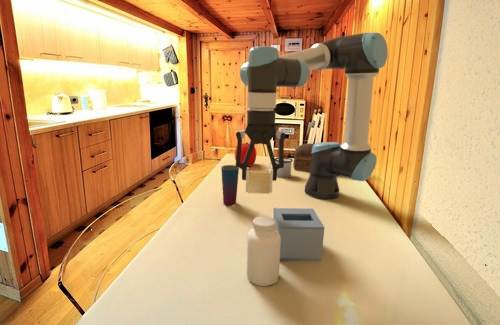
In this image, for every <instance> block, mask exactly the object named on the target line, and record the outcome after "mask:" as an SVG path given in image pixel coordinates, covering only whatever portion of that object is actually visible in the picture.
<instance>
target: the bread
mask: <svg viewBox="0 0 500 325" xmlns="http://www.w3.org/2000/svg"><path fill="white" fill-rule="evenodd" d="M314 144H315V143H303V144H301V145H299V146H297V147H296V148H295V149H294V152H293V156H294V157H293V158H294V159H293V163H292V164H293V169H294V170H295V171H304V172H310V168H311V156H312V154H311V153H312V148H313V145H314Z"/></svg>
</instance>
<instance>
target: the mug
mask: <svg viewBox="0 0 500 325" xmlns="http://www.w3.org/2000/svg"><path fill="white" fill-rule="evenodd" d="M274 158H275V161H276V164H277V163H279V158H278V157H274ZM292 162H294V159H292V158H290V157H285V156H284V167H283V168H279V169H278V170H277V178H281V179H284V178H285V179H286V178H291V174H292ZM269 165H272V164H271V162H270V163H269Z"/></svg>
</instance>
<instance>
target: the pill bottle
mask: <svg viewBox="0 0 500 325" xmlns="http://www.w3.org/2000/svg"><path fill="white" fill-rule="evenodd" d="M252 227H253V228H251V229H250V230H249V231H248V233H247V242H246V245H247V246H246V277H247V279H248V281H249V282H251V283H252V284H253V285H255V286H259V287H269V286H271V285H274V284H275V283H276V282H277V281H278V280H279V278H280V277H279V276H280V265H281V264H280V263H281V262H280V244H281V237H280V234H279V232H278V231H277V230H276V221H275V220H274V219H273V217H271V216H257V217H255V218H254V219H253V221H252Z"/></svg>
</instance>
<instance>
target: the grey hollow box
mask: <svg viewBox="0 0 500 325" xmlns="http://www.w3.org/2000/svg"><path fill="white" fill-rule="evenodd" d="M272 218H273V219H274V220H275V221H276V230H277V231H278V232H279V234H280V237H281V244H280V261H281V262H283V261H288V262H289V261H293V262H294V261H295V262H297V261H300V262H301V261H302V262H305V261H306V262H307V261H309V262H310V261H311V262H315V261H316V262H318V261H319V262H321V261H322V254H323V246H324V236H325V226H324V224H323V222H322V221H321V219H320V217H319V216H318V214H317V213H316V211H315V209H314V208H300V207H299V208H297V207H296V208H292V207H291V208H290V207H289V208H287V207H285V208H283V207H282V208H281V207H280V208H279V207H277V208H276V207H274V208H273V215H272Z"/></svg>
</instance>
